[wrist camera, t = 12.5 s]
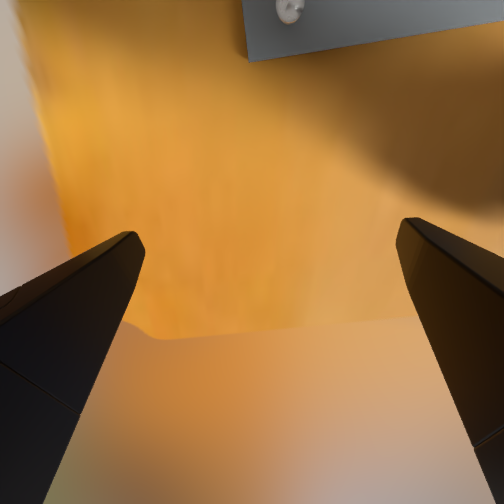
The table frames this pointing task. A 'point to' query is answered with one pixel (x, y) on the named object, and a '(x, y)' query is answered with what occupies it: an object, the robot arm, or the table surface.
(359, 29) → the pin tray
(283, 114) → the table surface
